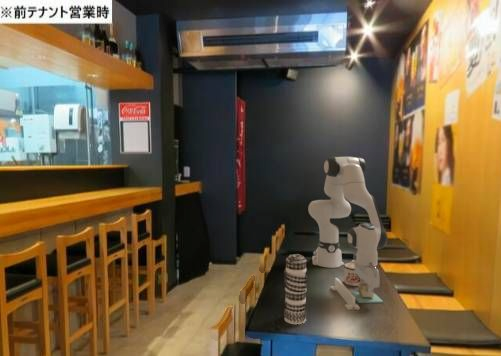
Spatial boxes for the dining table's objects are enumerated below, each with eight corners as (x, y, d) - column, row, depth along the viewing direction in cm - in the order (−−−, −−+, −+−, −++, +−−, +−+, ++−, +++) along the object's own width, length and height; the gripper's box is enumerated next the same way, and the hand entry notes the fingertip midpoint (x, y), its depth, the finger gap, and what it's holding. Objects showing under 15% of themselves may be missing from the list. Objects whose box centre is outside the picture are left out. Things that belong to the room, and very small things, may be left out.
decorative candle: (291, 311, 137) (292, 251, 135) (311, 318, 131) (312, 255, 130) (278, 319, 129) (279, 255, 128) (299, 327, 124) (300, 260, 123)
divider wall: (331, 288, 163) (331, 278, 163) (341, 288, 163) (341, 277, 163) (347, 309, 139) (348, 297, 139) (359, 309, 139) (359, 297, 139)
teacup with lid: (344, 285, 167) (344, 262, 166) (343, 279, 175) (343, 257, 175) (369, 287, 164) (370, 264, 164) (367, 281, 173) (367, 259, 173)
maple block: (358, 292, 154) (358, 282, 154) (369, 292, 154) (369, 282, 154) (362, 297, 149) (362, 286, 149) (373, 297, 149) (373, 286, 149)
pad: (349, 293, 157) (349, 291, 157) (372, 293, 158) (372, 291, 158) (358, 302, 146) (358, 301, 146) (383, 302, 147) (383, 301, 147)
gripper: (384, 267, 141) (383, 299, 141) (365, 253, 161) (364, 282, 162) (369, 267, 141) (368, 299, 141) (352, 253, 161) (351, 282, 162)
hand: (366, 290), depth 152 cm, fingers open, 5 cm apart
